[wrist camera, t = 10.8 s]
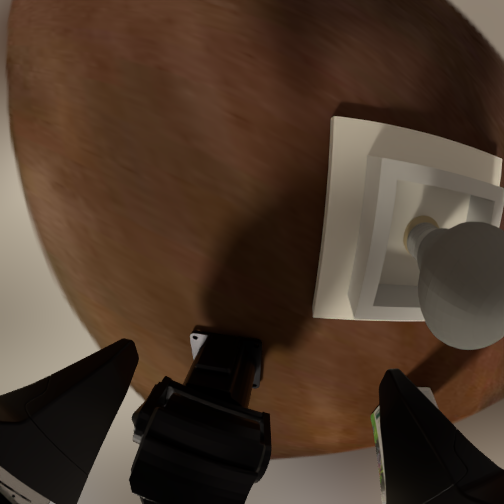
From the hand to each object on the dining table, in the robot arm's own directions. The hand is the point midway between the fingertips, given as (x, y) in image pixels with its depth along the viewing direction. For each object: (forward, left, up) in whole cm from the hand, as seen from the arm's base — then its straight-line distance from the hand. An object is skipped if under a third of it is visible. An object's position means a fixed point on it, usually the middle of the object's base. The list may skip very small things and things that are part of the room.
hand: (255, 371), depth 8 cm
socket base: (+2, -10, -12) cm, 16 cm away
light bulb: (+2, -10, -10) cm, 14 cm away
